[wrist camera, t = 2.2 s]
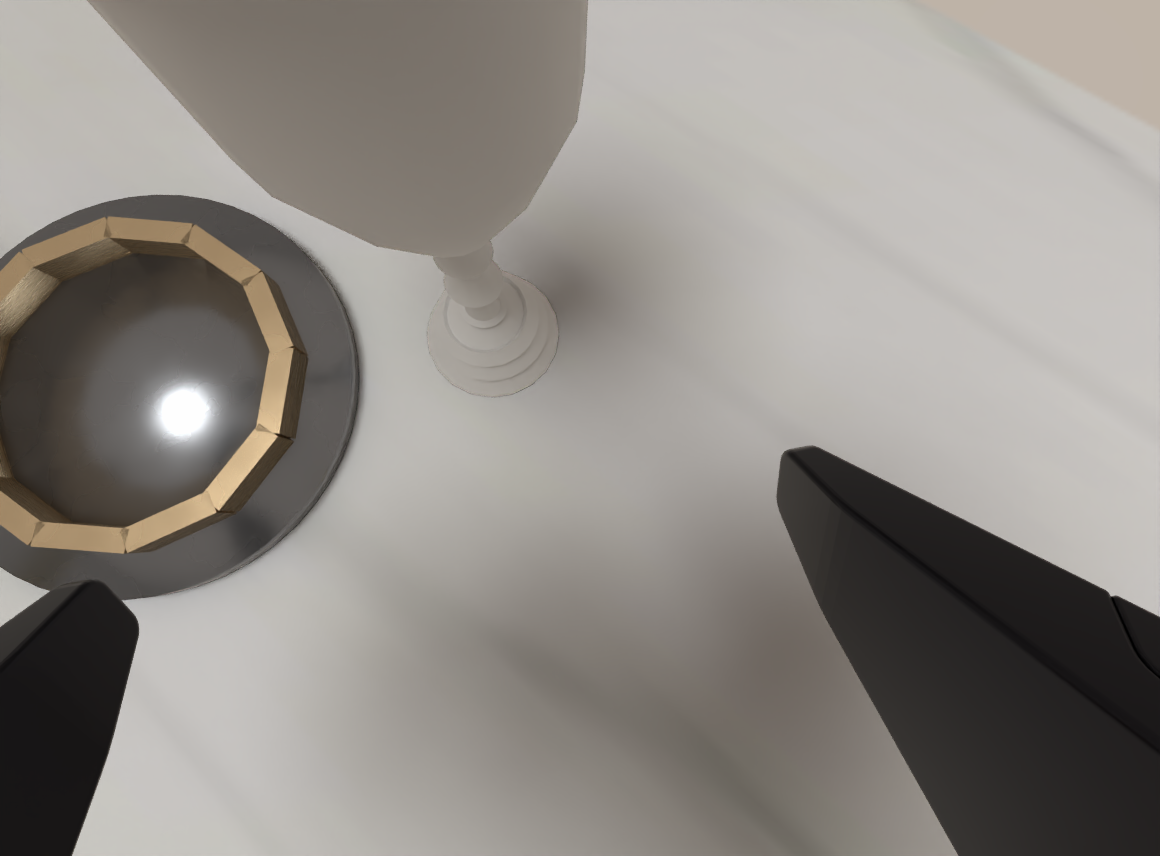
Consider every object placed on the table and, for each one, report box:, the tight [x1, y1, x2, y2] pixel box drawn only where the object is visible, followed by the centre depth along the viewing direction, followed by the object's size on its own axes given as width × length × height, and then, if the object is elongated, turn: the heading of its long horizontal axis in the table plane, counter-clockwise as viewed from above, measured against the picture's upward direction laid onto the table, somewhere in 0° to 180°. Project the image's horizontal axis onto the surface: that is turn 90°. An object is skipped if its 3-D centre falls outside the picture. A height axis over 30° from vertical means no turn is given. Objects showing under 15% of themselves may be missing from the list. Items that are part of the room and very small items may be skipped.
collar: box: [0, 195, 359, 600], centre depth 21 cm, size 15×15×2 cm
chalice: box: [87, 0, 588, 397], centre depth 13 cm, size 7×7×18 cm
